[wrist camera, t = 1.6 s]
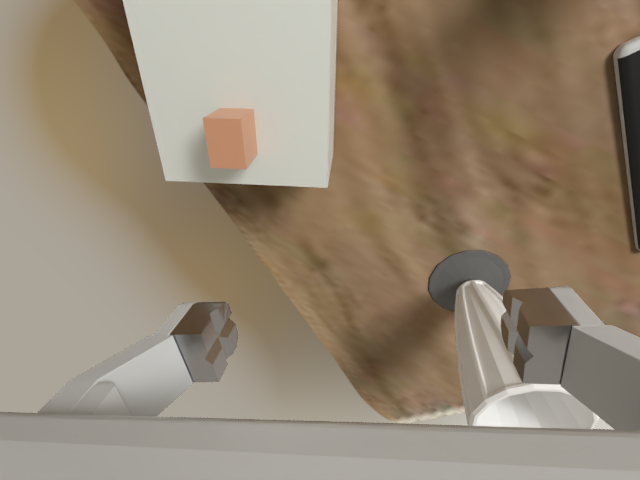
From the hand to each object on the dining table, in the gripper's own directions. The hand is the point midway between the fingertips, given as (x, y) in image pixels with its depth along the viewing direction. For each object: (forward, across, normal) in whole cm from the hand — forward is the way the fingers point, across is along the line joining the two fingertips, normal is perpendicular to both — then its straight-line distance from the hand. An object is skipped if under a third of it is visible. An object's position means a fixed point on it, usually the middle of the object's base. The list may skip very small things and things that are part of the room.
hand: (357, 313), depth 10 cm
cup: (+37, -12, +24) cm, 46 cm away
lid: (+23, +10, -9) cm, 27 cm away
